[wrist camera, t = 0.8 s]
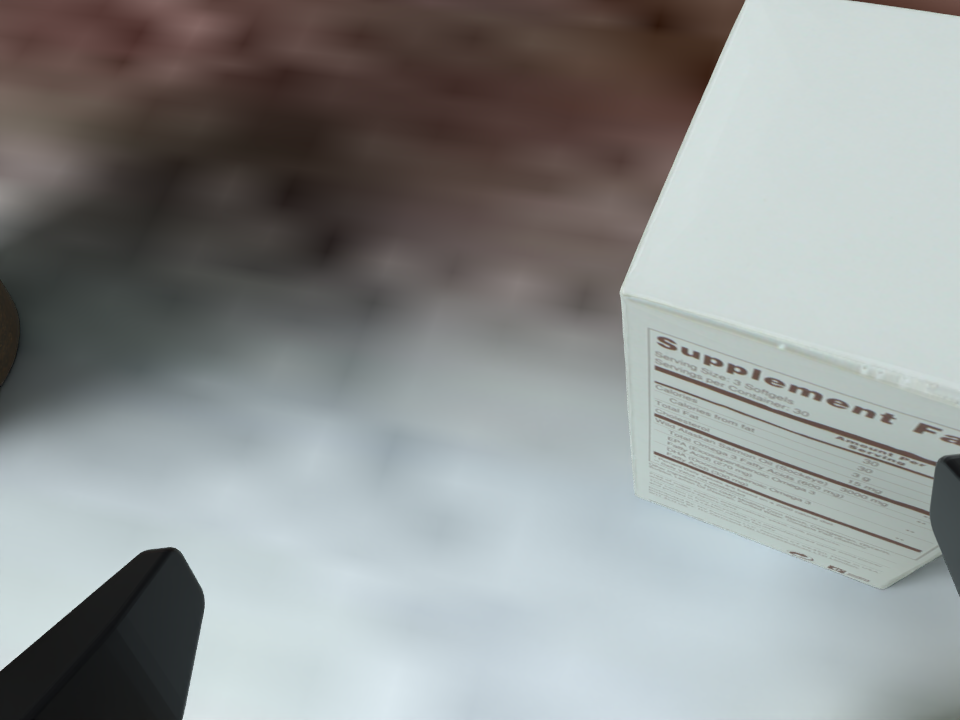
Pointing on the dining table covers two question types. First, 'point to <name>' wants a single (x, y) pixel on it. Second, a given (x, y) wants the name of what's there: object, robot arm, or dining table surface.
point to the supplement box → (807, 290)
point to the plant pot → (7, 332)
